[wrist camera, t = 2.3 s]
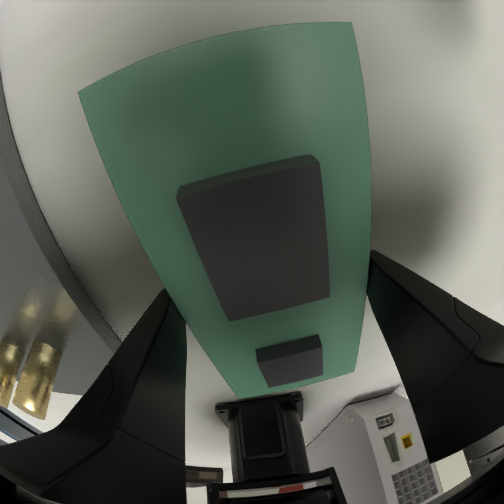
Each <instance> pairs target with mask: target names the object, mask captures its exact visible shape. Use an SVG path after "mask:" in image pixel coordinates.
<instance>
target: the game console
mask: <svg viewBox="0 0 504 504" xmlns="http://www.w3.org/2000/svg"><path fill="white" fill-rule="evenodd" d="M306 453H307V458H308V463H309V467H310V472H311V473H312V472H317V471H321V470H324V469H326V468H329V467H333V466H334V468H335V471H336V474H337V476H338V479H339V482H340V485H341V487H342V490H343V493H344V496H345V498H346V501H347V504H426V503H428V502H430V501H431V500H433V499H435V498H437V497H439V496H440V495H442V494H444V493H443V489H442V486H441V482H440V478H439V475H438V472H437V469H436V465H435V462H434V463H432V464H429V461H428V457H427V454H426V450H425V447H424V444H423V440H422V437H421V434H420V431H419V428H418V425H417V422H416V419H415V415H414V412H413V409H412V407H411V404H410V401H409V400H408V399H406V398H404V397H402V396H400V395H399V394H397V393H395V392H394V393H391V394H388V395H385V396H381V397H378V398H374V399H371V400H367V401H363V402H359V403H355V404H351V405H347V407H346V408H345V409H344V410H343V411H342V412H341V413H340V414H339V415H338V416H337V417H336V418H335V420H334V421H333V422H332V423H331V424H330V425H329V426H328V427H327V428H326V429H325V430H324V431H323V432H322V433H321V434H320V435H319V436H318V437H317V438H316V439H315V440H313V441H312V442H311V443H310V444H309V445H308V446H307V447H306ZM312 487H316V482H311V483H307V484H303V488H304V489H307V488H312Z"/></svg>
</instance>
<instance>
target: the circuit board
mask: <svg viewBox="0 0 504 504" xmlns="http://www.w3.org/2000/svg"><path fill="white" fill-rule="evenodd" d="M78 94H79V97H80V100H81V104H82V107H83V110H84V113H85V115H86V118H87V121H88V124H89V127H90V130H91V132H92V135H93V138H94V140H95V143H96V146H97V148H98V151H99V153H100V156H101V158H102V161H103V163H104V165H105V168H106V170H107V173H108V175H109V177H110V180H111V182H112V184H113V186H114V189H115V191H116V193H117V195H118V198H119V200H120V202H121V204H122V206H123V208H124V210H125V213H126V215H127V217H128V219H129V221H130V223H131V225H132V227H133V229H134V231H135V233H136V235H137V237H138V239H139V241H140V243H141V245H142V247H143V248H144V250H145V252H146V254H147V256H148V258H149V260H150V262H151V263H152V265H153V267H154V269H155V271H156V272H157V274H158V276H159V278H160V280H161V281H162V283H163V285H164V287H165V288H166V290H167V292H168V293H169V295H170V297H171V298H172V300H173V302H174V304H175V305H176V307H177V309H178V310H179V312H180V313H181V315H182V317H183V318H184V320H185V322H186V323H187V325H188V326H189V328H190V329H191V331H192V333H193V334H194V336H195V337H196V339H197V340H198V342H199V343H200V345H201V346H202V348H203V349H204V351H205V352H206V354H207V355H208V357H209V358H210V360H211V361H212V362H213V364H214V365H215V367H216V368H217V370H218V371H219V372H220V374H221V375H222V377H223V378H224V379H225V381H226V382H227V384H228V385H229V386H230V388H231V389H232V390H233V392H234V393H235V394H236V396H237V397H238V398H239V399H242V398H248V397H254V396H259V395H264V394H270V393H274V392H279V391H284V390H288V389H293V388H297V387H301V386H305V385H309V384H313V383H317V382H320V381H324V380H328V379H331V378H334V377H338V376H341V375H344V374H348V373H351V372H354V370H355V365H356V360H357V355H358V349H359V343H360V337H361V331H362V324H363V317H364V309H365V301H366V291H367V282H368V270H369V257H370V239H371V160H370V142H369V129H368V118H367V109H366V100H365V93H364V85H363V79H362V72H361V66H360V61H359V55H358V50H357V45H356V40H355V36H354V31H353V27H352V23H351V22H315V23H297V24H286V25H277V26H269V27H261V28H255V29H249V30H243V31H238V32H233V33H228V34H224V35H220V36H215V37H211V38H207V39H204V40H200V41H196V42H193V43H189V44H186V45H183V46H180V47H177V48H174V49H171V50H168V51H165V52H162V53H159V54H157V55H154V56H151V57H149V58H146V59H144V60H141V61H139V62H137V63H134V64H132V65H130V66H127V67H125V68H123V69H121V70H119V71H116V72H114V73H112V74H110V75H108V76H106V77H104V78H102V79H100V80H98V81H96V82H95V83H93V84H91V85H89V86H87V87H86V88H84V89H82V90H80V91H79V92H78Z"/></svg>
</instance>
